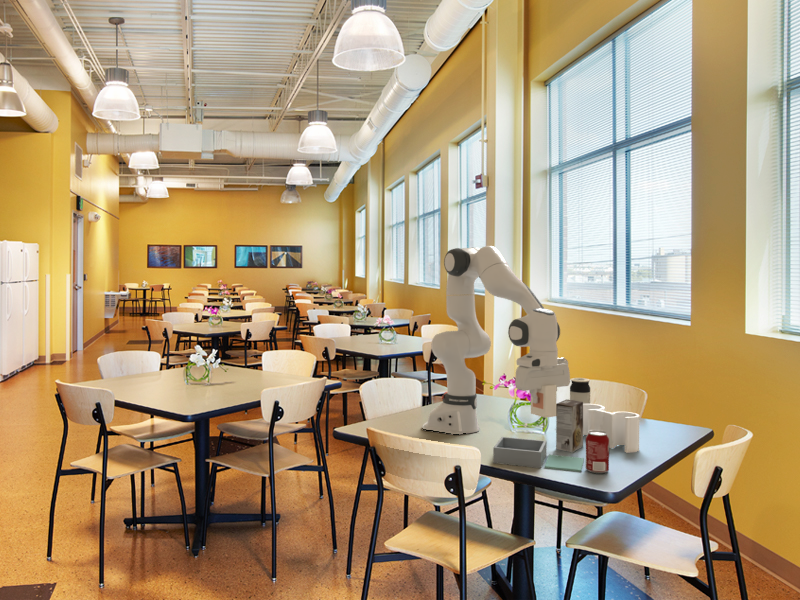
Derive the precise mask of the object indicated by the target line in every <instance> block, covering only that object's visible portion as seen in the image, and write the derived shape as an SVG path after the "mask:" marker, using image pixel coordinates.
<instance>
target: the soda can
mask: <svg viewBox="0 0 800 600" xmlns="http://www.w3.org/2000/svg"><path fill="white" fill-rule="evenodd" d="M609 467H610V447H609V438H608V437H607V433H606V432H604V431H599V430H591V431H588V435H587V436H585V470H587V471H588V472H590V473H591V472H592V473H593V474H596V473H597V474H598V475H603V474H605V473H608V472H609V470H610V469H609ZM597 474H596V475H597Z"/></svg>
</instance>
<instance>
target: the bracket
mask: <svg viewBox="0 0 800 600" xmlns="http://www.w3.org/2000/svg"><path fill="white" fill-rule="evenodd" d="M591 430H599V431H604V432H606V433H607V437H608V438H609V449H612V448H613V449H615V448H616V447H618V446H617V445H625V446H624V453H625V452H626V454H629V453H636V452H637V451H638V452H639V451H640V414H638V413H636V412H631V411H630V412H629V411H613V412H612V411H611V412H610V411H606V407H605V406H603V405H601V404H597V403H596V404H595V403H590V404H583V435H588V431H591ZM615 446H616V447H615Z"/></svg>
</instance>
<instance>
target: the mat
mask: <svg viewBox="0 0 800 600" xmlns="http://www.w3.org/2000/svg"><path fill="white" fill-rule="evenodd" d="M584 460H585V458H584V457H578V456H576V457H575V456H568V455H558V454H549V455H548V457H547V459H546V461H545V464H544V469H548V470H549V469H550V470H560V471H566V472H567V471H569V472H570V471H571V472H579V473H582V470H583V466H584V462H585V461H584Z"/></svg>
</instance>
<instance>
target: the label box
mask: <svg viewBox="0 0 800 600" xmlns="http://www.w3.org/2000/svg"><path fill="white" fill-rule="evenodd" d="M536 394H537V397H539V398H540V400H539V401H540V403H533V397H532V396H531V395H530V414H531V415H535V416H538V417H541V418H544V419H545V418H546V419H547V418H553V417H556V404H557V392H556V385H554V384H550V385H542V389H537V393H536Z"/></svg>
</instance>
